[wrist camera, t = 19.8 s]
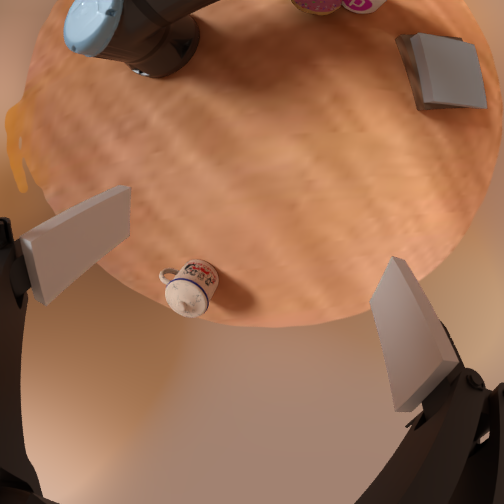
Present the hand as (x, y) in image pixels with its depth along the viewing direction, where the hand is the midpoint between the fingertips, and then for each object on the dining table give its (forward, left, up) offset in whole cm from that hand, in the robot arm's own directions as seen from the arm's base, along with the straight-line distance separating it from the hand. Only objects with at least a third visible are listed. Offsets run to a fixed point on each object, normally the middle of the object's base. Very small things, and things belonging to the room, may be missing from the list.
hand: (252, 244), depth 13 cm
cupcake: (-27, +14, -37) cm, 48 cm away
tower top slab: (-10, +32, -33) cm, 48 cm away
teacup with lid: (+18, -26, -37) cm, 49 cm away
